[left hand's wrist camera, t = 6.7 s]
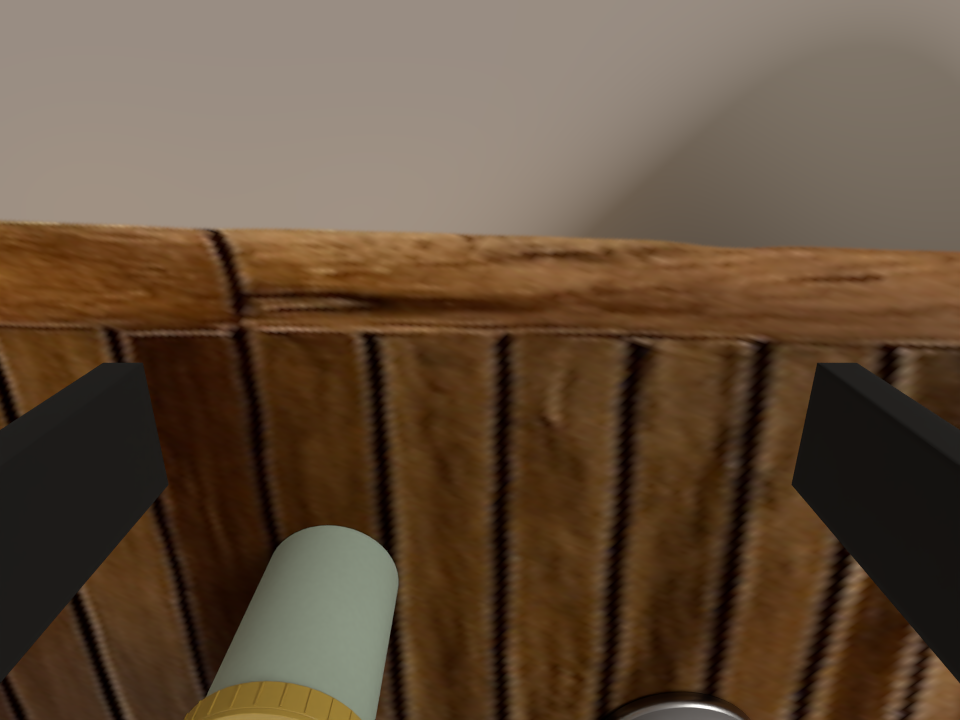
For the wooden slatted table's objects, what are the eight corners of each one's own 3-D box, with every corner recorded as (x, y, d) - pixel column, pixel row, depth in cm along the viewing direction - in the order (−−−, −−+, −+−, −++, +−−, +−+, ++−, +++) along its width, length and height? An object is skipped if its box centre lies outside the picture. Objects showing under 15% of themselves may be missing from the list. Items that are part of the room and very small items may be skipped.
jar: (408, 621, 50) (379, 831, 35) (286, 634, 50) (208, 847, 36) (385, 517, 46) (341, 704, 31) (253, 533, 46) (150, 723, 32)
